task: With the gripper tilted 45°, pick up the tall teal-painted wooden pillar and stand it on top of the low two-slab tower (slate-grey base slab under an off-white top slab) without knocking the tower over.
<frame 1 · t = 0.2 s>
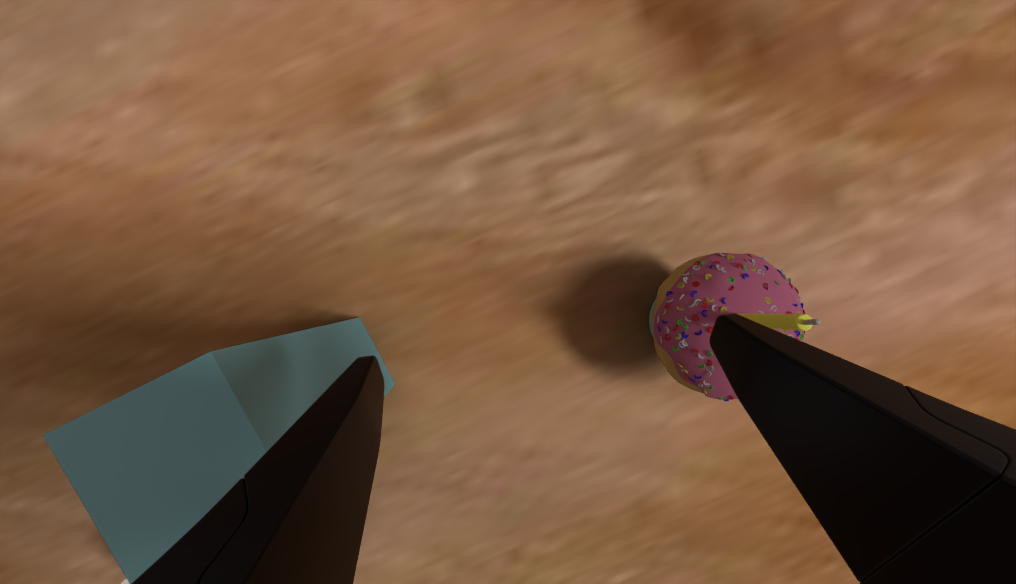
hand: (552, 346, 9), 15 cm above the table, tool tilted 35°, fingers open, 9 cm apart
cupcake: (680, 318, 25), on the table
teal pillar: (342, 369, 23), on the table
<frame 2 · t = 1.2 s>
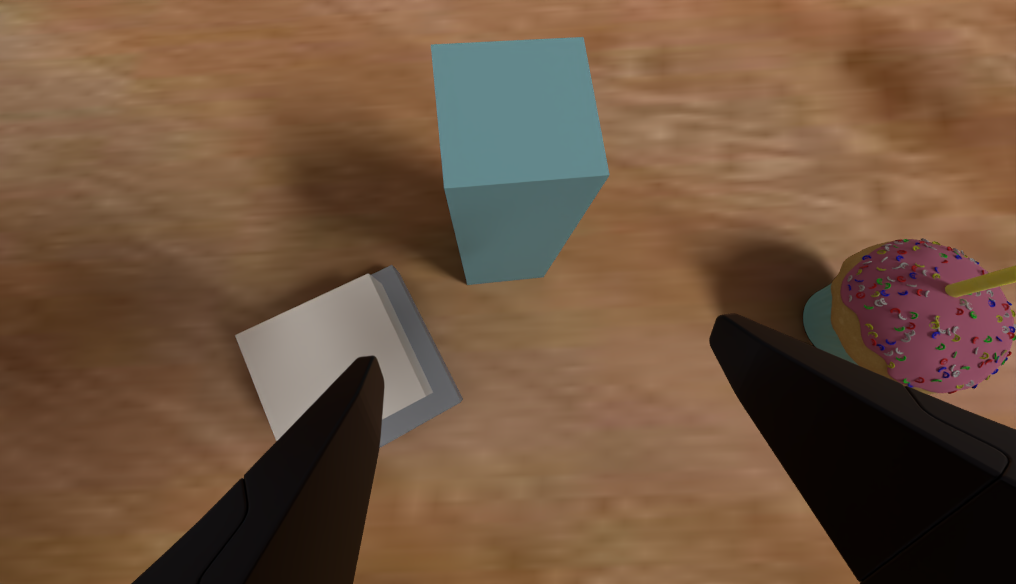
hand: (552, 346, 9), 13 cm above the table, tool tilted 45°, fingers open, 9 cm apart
tower top slab: (349, 365, 20), point 2 cm above the table
tower base slab: (366, 368, 23), on the table
cupcake: (834, 323, 24), on the table
teal pillar: (501, 244, 24), on the table
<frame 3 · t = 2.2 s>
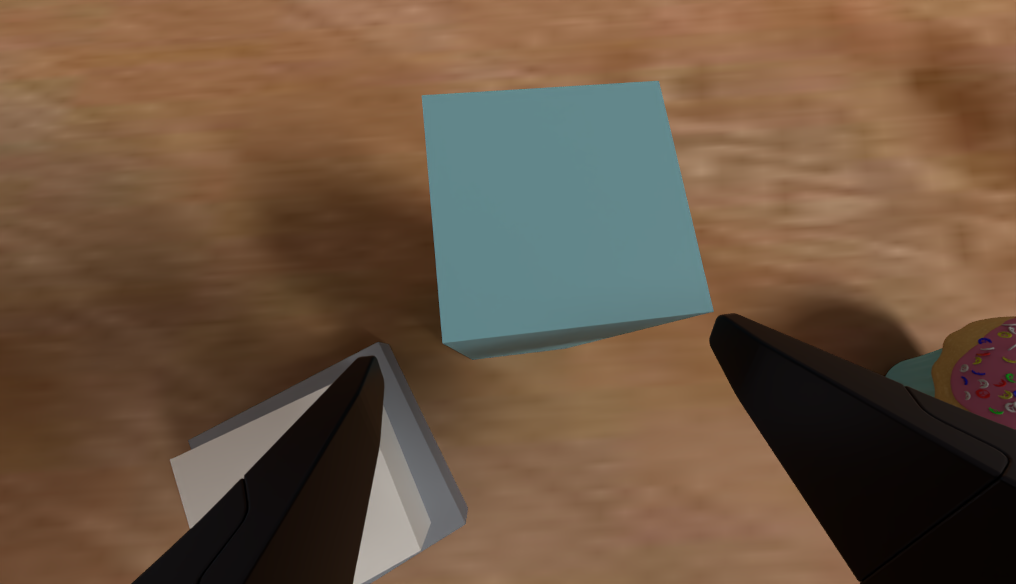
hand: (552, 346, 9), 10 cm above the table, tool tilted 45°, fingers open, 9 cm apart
tower top slab: (324, 484, 16), point 2 cm above the table, touching tower base slab
tower base slab: (348, 466, 18), on the table, touching tower top slab
cupcake: (918, 401, 20), on the table
teal pillar: (513, 308, 20), on the table
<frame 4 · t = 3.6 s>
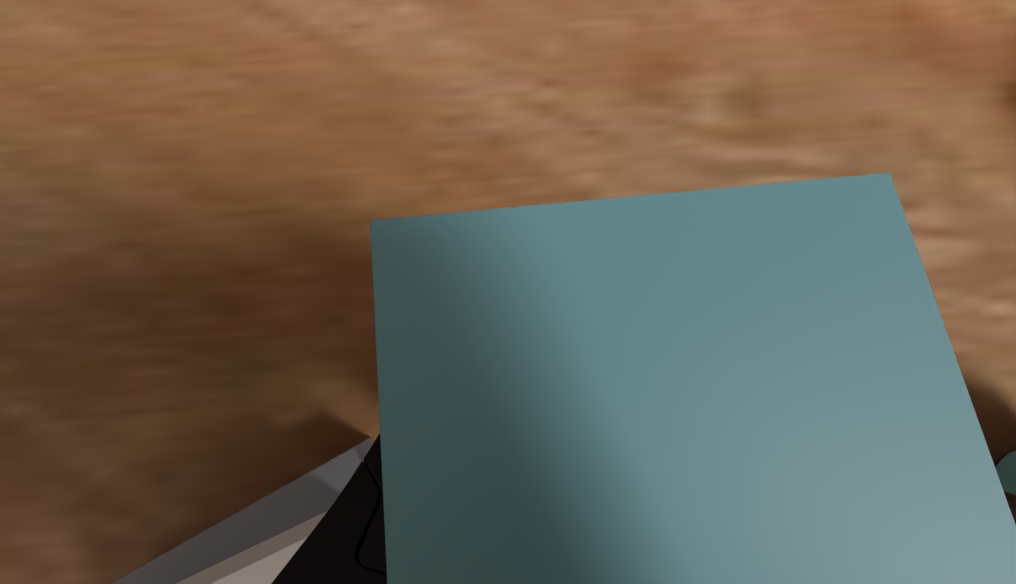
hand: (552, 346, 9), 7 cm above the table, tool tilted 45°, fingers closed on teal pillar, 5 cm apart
teal pillar: (529, 387, 16), on the table, touching gripper
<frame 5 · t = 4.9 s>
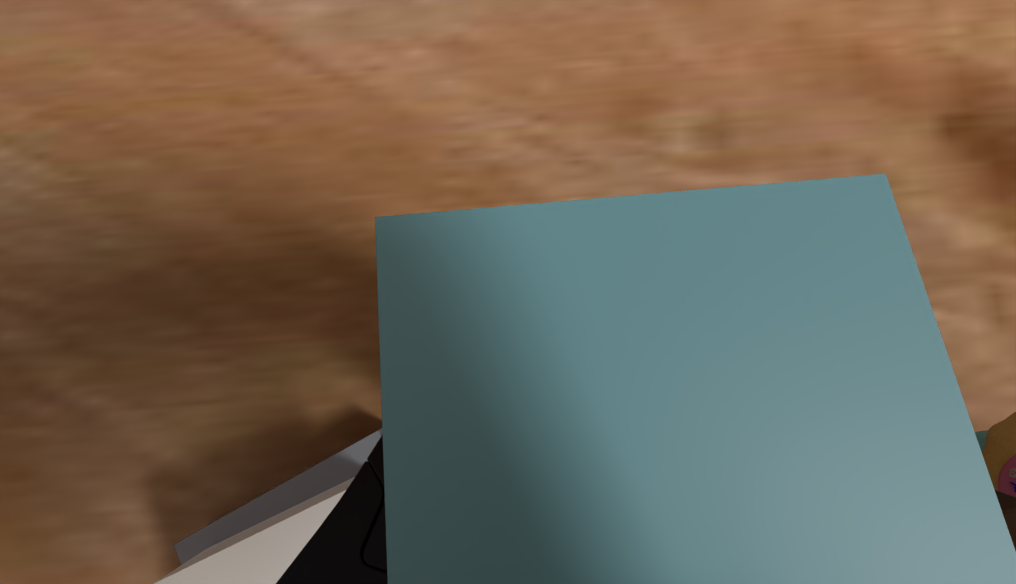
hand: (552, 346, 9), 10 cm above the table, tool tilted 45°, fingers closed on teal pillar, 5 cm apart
tower base slab: (346, 557, 17), on the table, touching tower top slab
cupcake: (951, 480, 19), on the table
teal pillar: (533, 386, 16), point 3 cm above the table, touching gripper
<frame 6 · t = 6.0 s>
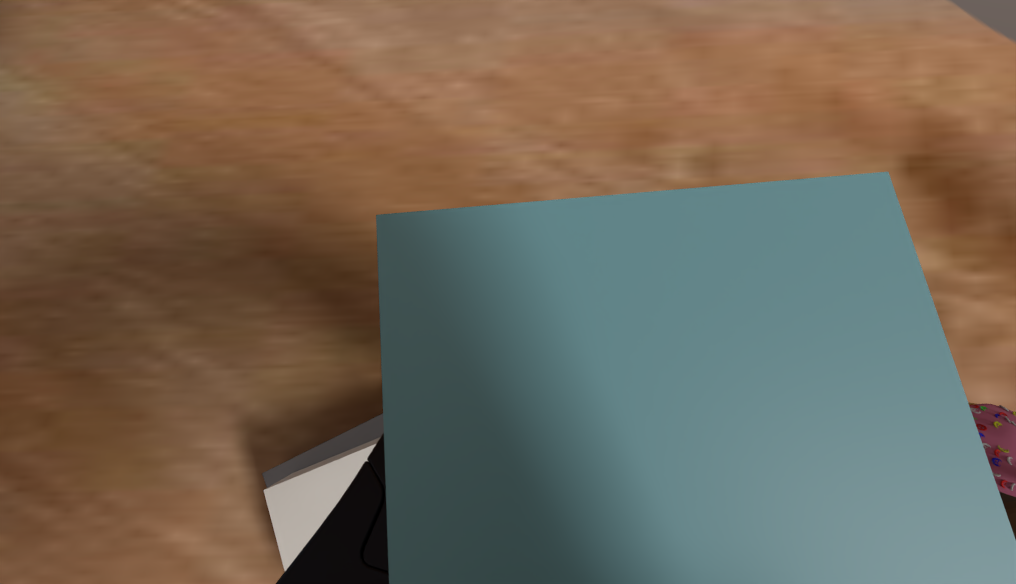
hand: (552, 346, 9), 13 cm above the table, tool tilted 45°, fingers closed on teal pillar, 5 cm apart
tower top slab: (378, 512, 19), point 2 cm above the table, touching tower base slab
tower base slab: (389, 496, 21), on the table, touching tower top slab
cupcake: (888, 462, 23), on the table
teal pillar: (533, 386, 16), point 7 cm above the table, touching gripper
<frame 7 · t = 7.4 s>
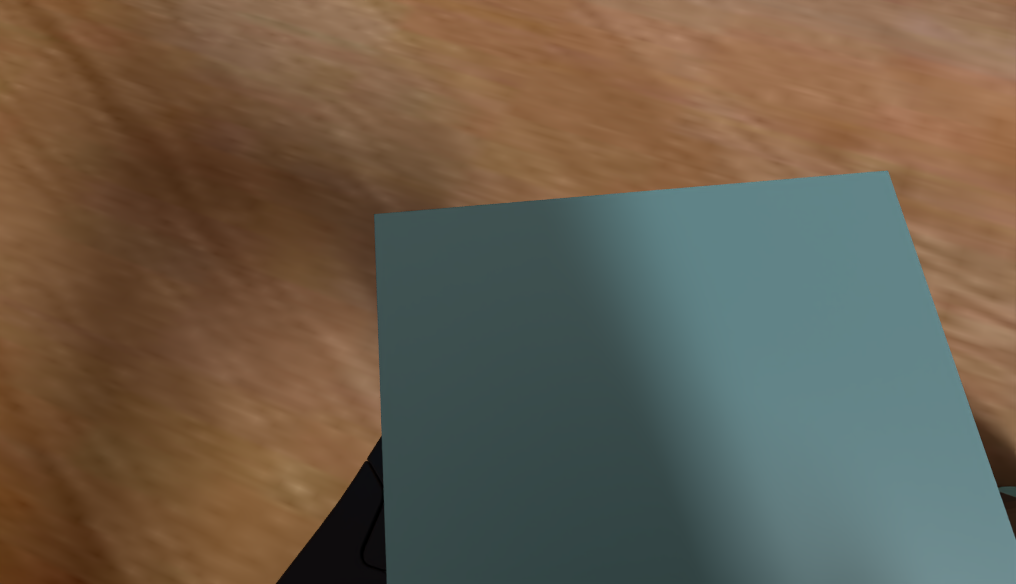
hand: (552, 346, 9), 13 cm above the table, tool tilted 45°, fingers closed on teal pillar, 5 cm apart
teal pillar: (533, 386, 16), point 6 cm above the table, touching gripper
when the fingers open (12 cm above the table, at t = 7.8 s): teal pillar drops 1 cm, resting on tower top slab.
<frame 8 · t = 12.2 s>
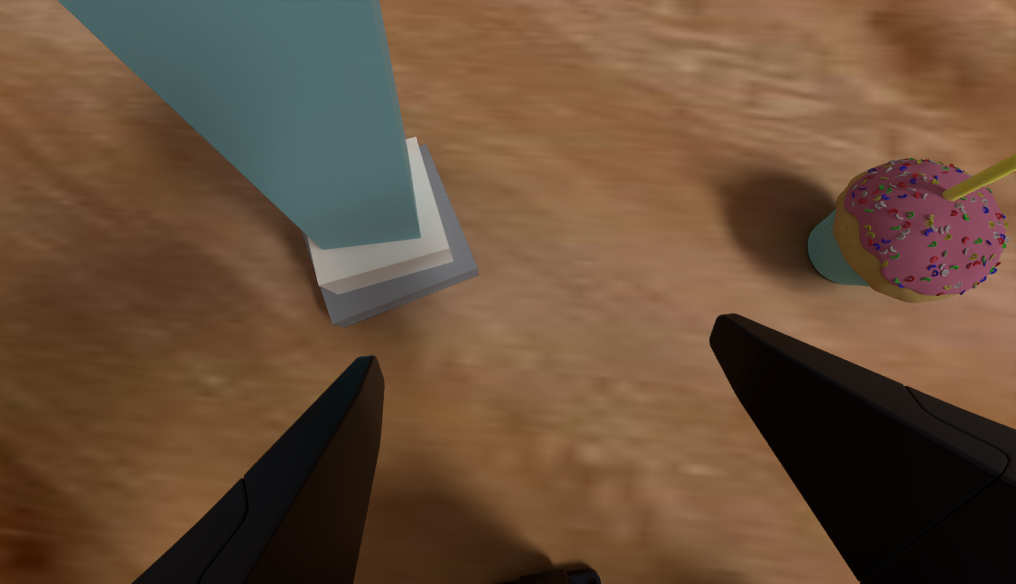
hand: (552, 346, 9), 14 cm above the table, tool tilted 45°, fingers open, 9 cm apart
tower top slab: (382, 224, 22), point 2 cm above the table, touching teal pillar
tower base slab: (392, 242, 24), on the table
cupcake: (837, 252, 26), on the table
teal pillar: (367, 200, 19), point 5 cm above the table, tilted 6°, touching tower top slab
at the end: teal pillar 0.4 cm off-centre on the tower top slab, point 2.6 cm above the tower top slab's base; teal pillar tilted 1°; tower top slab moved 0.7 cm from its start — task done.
